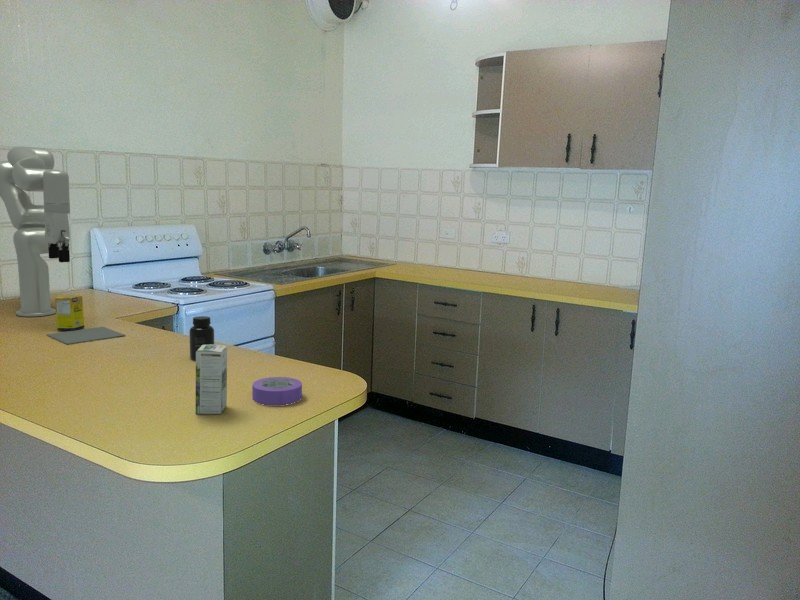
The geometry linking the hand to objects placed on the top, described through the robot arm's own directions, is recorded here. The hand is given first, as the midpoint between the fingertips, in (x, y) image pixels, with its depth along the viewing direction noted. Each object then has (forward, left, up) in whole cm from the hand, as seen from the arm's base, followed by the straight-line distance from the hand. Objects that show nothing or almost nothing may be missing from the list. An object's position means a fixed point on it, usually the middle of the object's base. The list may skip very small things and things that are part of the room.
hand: (59, 260), depth 208 cm
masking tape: (+107, +7, -23) cm, 110 cm away
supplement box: (+7, 0, -23) cm, 24 cm away
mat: (+19, 0, -23) cm, 29 cm away
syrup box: (+104, -9, -23) cm, 107 cm away
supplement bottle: (+65, +13, -23) cm, 70 cm away
